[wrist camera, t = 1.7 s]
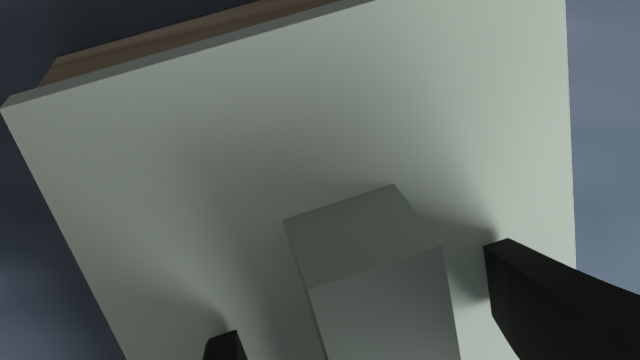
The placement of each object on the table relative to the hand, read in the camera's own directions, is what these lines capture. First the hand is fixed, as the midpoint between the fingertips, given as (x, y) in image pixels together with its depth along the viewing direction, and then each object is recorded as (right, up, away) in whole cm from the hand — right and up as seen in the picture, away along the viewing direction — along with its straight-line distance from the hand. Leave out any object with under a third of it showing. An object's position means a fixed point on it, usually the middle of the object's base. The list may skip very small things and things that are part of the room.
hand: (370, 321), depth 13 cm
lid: (0, 0, +1) cm, 1 cm away
